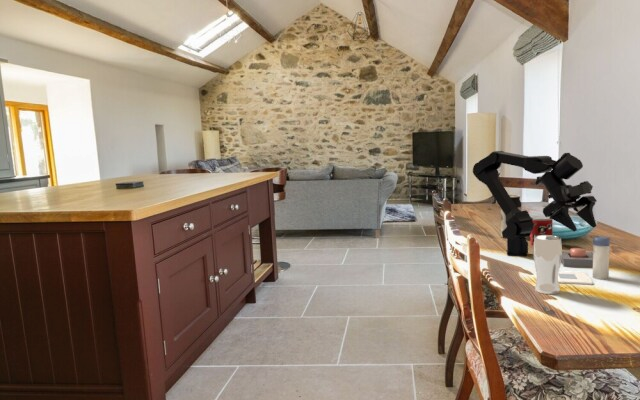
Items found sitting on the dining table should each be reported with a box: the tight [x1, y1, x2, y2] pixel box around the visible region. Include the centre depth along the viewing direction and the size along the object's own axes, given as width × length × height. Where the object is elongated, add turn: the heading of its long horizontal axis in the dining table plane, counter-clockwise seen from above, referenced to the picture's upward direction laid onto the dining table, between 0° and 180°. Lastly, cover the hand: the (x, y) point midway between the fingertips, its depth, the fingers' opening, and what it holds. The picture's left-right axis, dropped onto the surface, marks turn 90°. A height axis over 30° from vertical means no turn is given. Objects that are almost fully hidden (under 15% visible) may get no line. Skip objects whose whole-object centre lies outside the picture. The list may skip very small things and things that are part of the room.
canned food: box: [530, 215, 553, 247], centre depth 173 cm, size 8×8×11 cm
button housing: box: [561, 251, 593, 268], centre depth 147 cm, size 10×10×2 cm
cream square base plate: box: [558, 270, 594, 286], centre depth 132 cm, size 11×11×1 cm
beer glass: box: [532, 234, 563, 295], centre depth 122 cm, size 7×7×15 cm
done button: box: [570, 247, 587, 258], centre depth 147 cm, size 4×4×3 cm
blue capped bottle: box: [592, 235, 611, 281], centre depth 130 cm, size 4×4×12 cm
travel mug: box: [500, 193, 522, 238], centre depth 189 cm, size 8×8×18 cm
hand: (585, 228), depth 138 cm, fingers open, 9 cm apart
